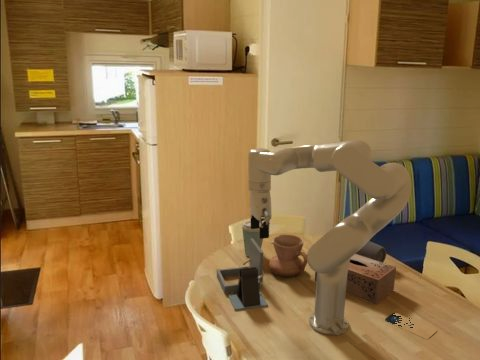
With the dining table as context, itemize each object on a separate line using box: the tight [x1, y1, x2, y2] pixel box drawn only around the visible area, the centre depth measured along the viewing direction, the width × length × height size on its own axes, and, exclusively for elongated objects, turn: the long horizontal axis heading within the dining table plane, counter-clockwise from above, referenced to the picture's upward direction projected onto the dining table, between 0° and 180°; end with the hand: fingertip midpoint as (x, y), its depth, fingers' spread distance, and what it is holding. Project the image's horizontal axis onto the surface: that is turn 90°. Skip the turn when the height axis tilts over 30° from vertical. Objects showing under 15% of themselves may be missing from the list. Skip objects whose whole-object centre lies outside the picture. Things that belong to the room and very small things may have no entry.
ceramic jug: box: [268, 233, 308, 278], centre depth 183 cm, size 18×14×14 cm
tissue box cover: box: [314, 254, 397, 306], centre depth 173 cm, size 26×14×10 cm, turn 47°
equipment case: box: [216, 238, 265, 295], centre depth 173 cm, size 16×15×15 cm
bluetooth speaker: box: [356, 240, 387, 263], centre depth 196 cm, size 23×9×10 cm, turn 42°
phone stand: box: [236, 267, 260, 307], centre depth 160 cm, size 9×6×12 cm, turn 18°
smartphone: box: [384, 312, 414, 328], centre depth 149 cm, size 8×1×15 cm
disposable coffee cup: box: [241, 220, 264, 258], centre depth 199 cm, size 11×11×15 cm
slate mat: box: [227, 290, 269, 312], centre depth 162 cm, size 10×12×1 cm
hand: (259, 233), depth 157 cm, fingers open, 9 cm apart
